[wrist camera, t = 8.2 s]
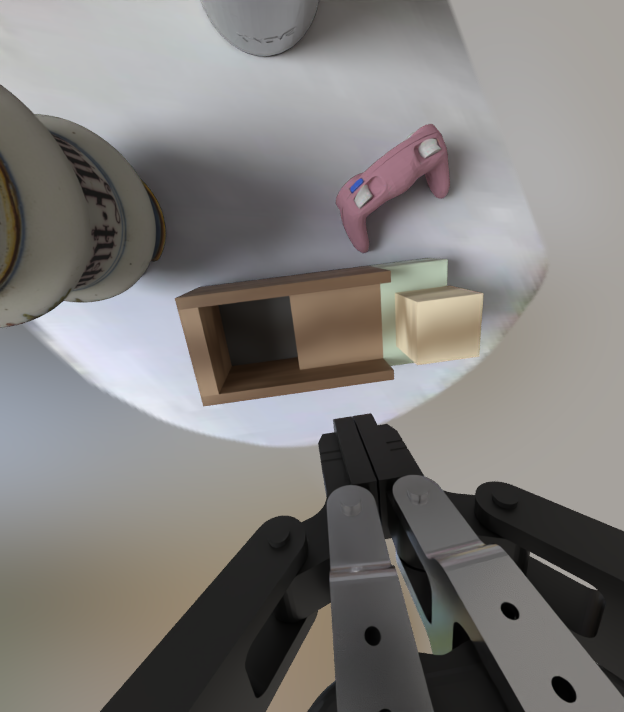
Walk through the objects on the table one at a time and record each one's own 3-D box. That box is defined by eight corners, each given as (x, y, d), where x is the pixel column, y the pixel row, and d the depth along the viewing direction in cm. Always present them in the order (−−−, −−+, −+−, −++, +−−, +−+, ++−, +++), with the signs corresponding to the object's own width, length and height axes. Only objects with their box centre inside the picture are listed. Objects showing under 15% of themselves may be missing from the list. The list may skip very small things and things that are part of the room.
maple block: (394, 292, 27) (417, 302, 23) (449, 285, 28) (483, 293, 23) (396, 346, 29) (417, 365, 24) (448, 338, 29) (479, 356, 25)
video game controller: (421, 160, 29) (436, 95, 22) (450, 197, 29) (475, 141, 22) (333, 224, 30) (323, 181, 24) (359, 260, 30) (356, 227, 23)
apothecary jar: (127, 318, 30) (-73, 407, 13) (5, 223, 27) (-472, 183, 10) (206, 223, 28) (86, 186, 11) (84, 107, 25) (-356, -200, 8)
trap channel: (199, 287, 30) (174, 298, 23) (427, 257, 31) (466, 260, 24) (219, 374, 33) (203, 406, 26) (427, 346, 34) (461, 369, 27)
